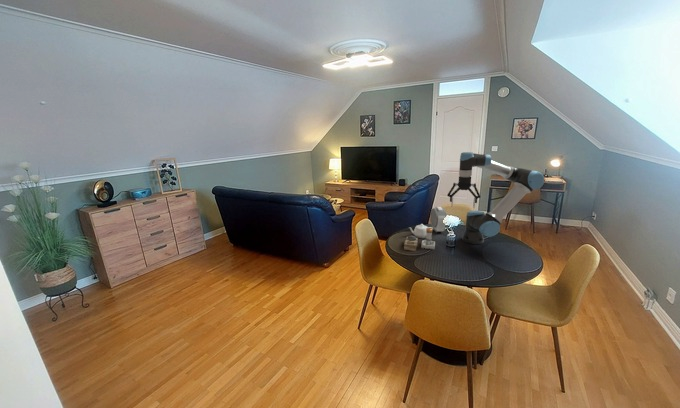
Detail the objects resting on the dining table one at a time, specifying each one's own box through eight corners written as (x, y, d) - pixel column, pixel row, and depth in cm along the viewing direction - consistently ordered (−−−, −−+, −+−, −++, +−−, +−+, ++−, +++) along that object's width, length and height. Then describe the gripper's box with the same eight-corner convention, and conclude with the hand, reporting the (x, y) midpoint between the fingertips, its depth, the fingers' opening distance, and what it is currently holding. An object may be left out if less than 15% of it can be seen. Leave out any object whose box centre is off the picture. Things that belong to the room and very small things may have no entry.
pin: (425, 244, 203) (426, 227, 200) (431, 244, 202) (432, 228, 198) (424, 246, 199) (426, 229, 196) (431, 247, 198) (432, 230, 194)
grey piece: (446, 234, 222) (448, 210, 217) (435, 234, 222) (437, 210, 217) (438, 226, 240) (440, 204, 234) (428, 226, 240) (430, 204, 234)
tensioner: (406, 241, 210) (407, 233, 208) (417, 243, 207) (417, 235, 205) (403, 249, 197) (404, 240, 195) (415, 250, 194) (415, 242, 192)
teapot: (411, 239, 213) (411, 227, 210) (405, 233, 225) (406, 222, 222) (435, 238, 215) (436, 226, 212) (429, 232, 227) (430, 220, 224)
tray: (422, 243, 206) (422, 240, 206) (434, 244, 203) (435, 241, 203) (421, 248, 198) (421, 244, 198) (434, 249, 195) (434, 246, 195)
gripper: (444, 176, 182) (442, 207, 188) (486, 177, 172) (483, 209, 178) (445, 174, 189) (443, 204, 194) (485, 175, 179) (482, 206, 185)
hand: (462, 207), depth 186 cm, fingers open, 13 cm apart
